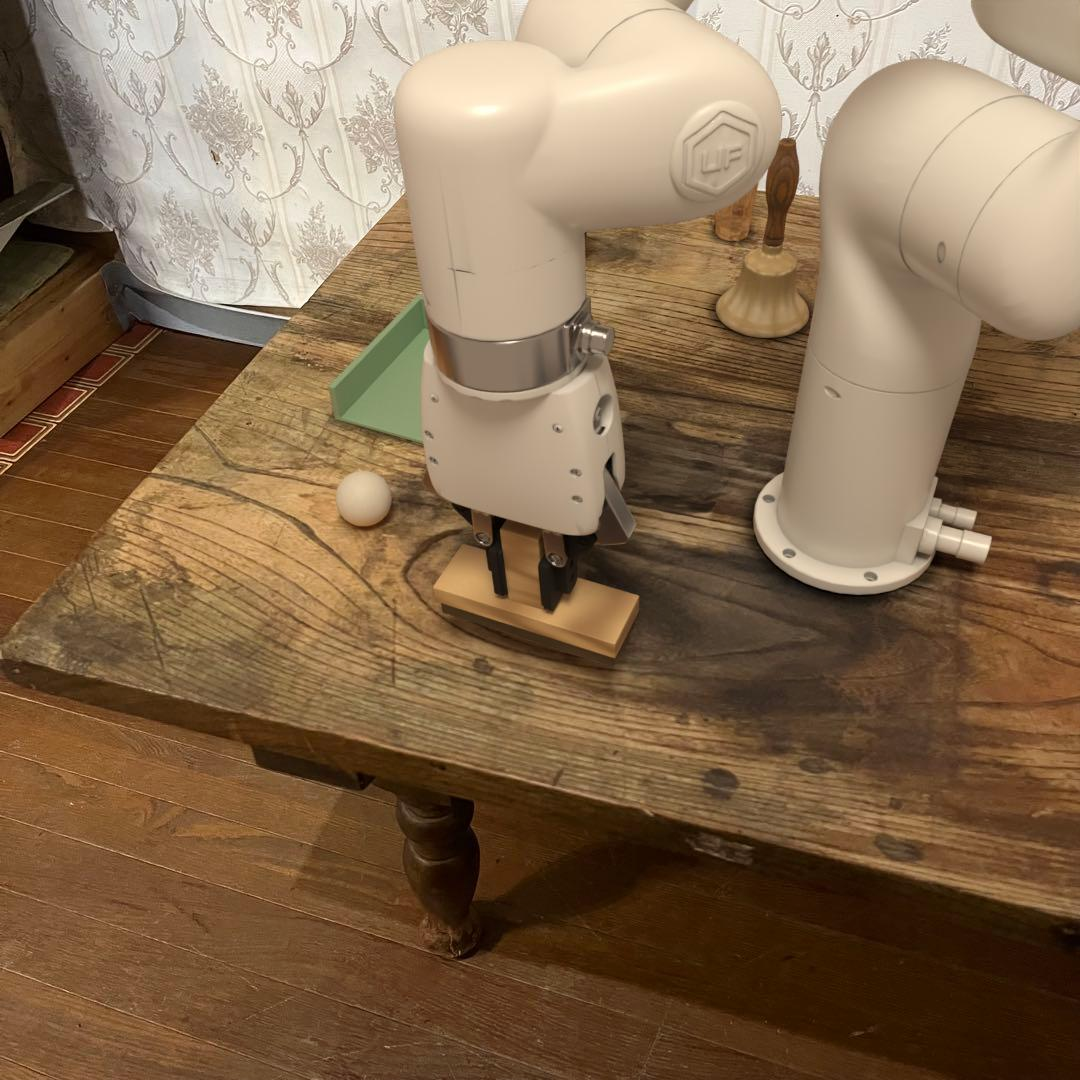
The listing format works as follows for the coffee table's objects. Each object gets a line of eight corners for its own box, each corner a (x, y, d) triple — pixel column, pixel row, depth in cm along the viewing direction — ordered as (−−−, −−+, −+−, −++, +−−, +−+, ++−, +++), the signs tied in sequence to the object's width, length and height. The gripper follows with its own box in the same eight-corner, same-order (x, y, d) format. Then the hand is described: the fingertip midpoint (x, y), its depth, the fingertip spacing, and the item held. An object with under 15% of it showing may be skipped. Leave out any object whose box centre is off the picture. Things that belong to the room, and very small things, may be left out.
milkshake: (738, 215, 106) (750, 118, 99) (762, 240, 102) (776, 141, 95) (698, 223, 105) (706, 126, 98) (720, 248, 101) (731, 149, 94)
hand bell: (828, 317, 92) (863, 143, 81) (759, 350, 89) (785, 172, 78) (764, 278, 97) (788, 108, 86) (696, 307, 94) (712, 135, 83)
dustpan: (526, 473, 79) (524, 439, 76) (334, 419, 84) (327, 386, 82) (631, 320, 93) (632, 288, 91) (462, 283, 98) (459, 251, 96)
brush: (639, 622, 64) (640, 524, 57) (615, 671, 61) (613, 574, 55) (466, 570, 68) (450, 473, 61) (437, 614, 65) (417, 517, 59)
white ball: (405, 508, 76) (398, 467, 74) (377, 543, 74) (368, 503, 71) (358, 494, 78) (350, 453, 75) (329, 528, 75) (319, 487, 72)
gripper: (696, 318, 49) (682, 579, 62) (401, 260, 54) (446, 511, 67) (640, 413, 44) (637, 673, 57) (323, 339, 49) (387, 593, 63)
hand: (534, 584), depth 62 cm, fingers closed on brush, 2 cm apart
